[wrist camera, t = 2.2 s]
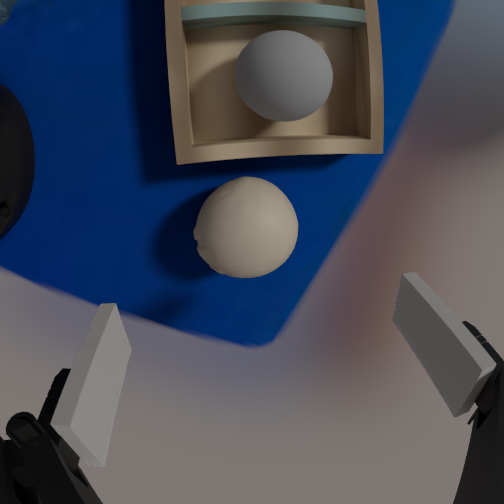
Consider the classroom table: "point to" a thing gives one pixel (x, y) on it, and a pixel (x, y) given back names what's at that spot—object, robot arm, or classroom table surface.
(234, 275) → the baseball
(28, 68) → the classroom table surface
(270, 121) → the divided wooden tray
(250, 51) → the grey ball
